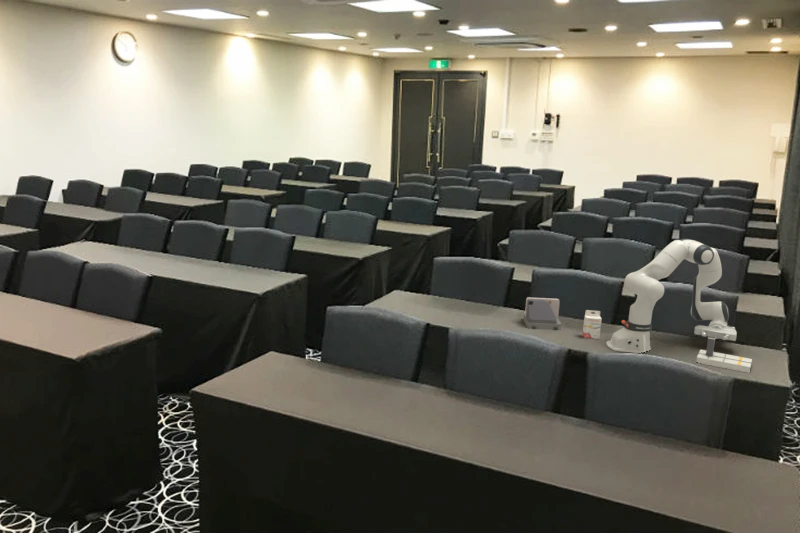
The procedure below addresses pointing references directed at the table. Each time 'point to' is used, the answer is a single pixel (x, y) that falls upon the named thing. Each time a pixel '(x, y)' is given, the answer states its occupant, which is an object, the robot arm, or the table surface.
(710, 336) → the fader knob
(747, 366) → the fader console
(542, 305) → the tablet on stand
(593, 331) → the ink cartridge box
